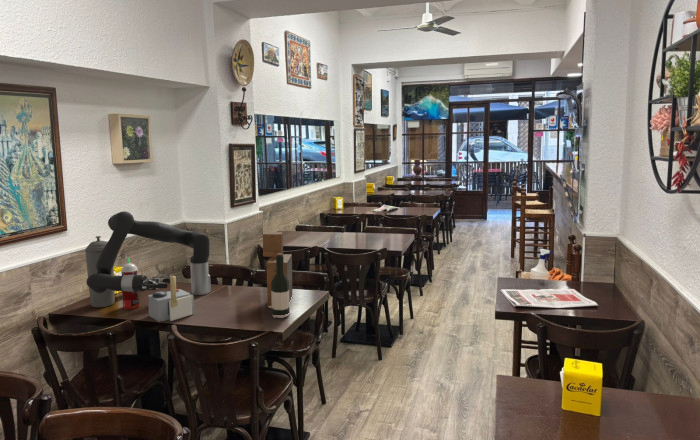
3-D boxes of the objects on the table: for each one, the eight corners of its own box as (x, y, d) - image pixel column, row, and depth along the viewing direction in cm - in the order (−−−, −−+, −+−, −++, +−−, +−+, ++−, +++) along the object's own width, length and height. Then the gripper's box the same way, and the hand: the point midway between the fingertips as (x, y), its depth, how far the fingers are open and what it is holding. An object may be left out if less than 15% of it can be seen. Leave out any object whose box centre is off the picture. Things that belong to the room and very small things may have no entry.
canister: (122, 301, 267) (118, 234, 262) (104, 309, 255) (100, 239, 249) (100, 299, 270) (96, 233, 265) (82, 307, 258) (77, 237, 252)
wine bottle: (281, 319, 242) (281, 256, 237) (268, 316, 246) (267, 254, 241) (293, 314, 249) (292, 253, 244) (279, 311, 253) (278, 251, 248)
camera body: (181, 308, 257) (180, 286, 255) (191, 314, 249) (190, 291, 247) (148, 315, 246) (147, 292, 244) (158, 321, 238) (157, 297, 236)
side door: (192, 313, 249) (191, 271, 246) (196, 314, 247) (194, 272, 244) (169, 320, 239) (167, 276, 236) (173, 321, 237) (171, 277, 234)
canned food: (134, 310, 254) (132, 288, 252) (119, 309, 255) (118, 287, 254) (143, 305, 261) (142, 284, 260) (129, 304, 263) (127, 283, 261)
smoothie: (142, 293, 281) (140, 257, 278) (128, 297, 274) (126, 260, 271) (132, 291, 285) (130, 255, 282) (119, 295, 278) (116, 258, 275)
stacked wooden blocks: (265, 296, 277) (264, 232, 272) (292, 297, 277) (291, 232, 272) (259, 308, 258) (257, 238, 253) (288, 308, 258) (287, 239, 253)
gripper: (127, 279, 228) (164, 279, 229) (139, 271, 242) (174, 271, 243) (128, 295, 230) (165, 295, 230) (140, 286, 244) (175, 286, 244)
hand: (170, 283), depth 236 cm, fingers open, 8 cm apart
